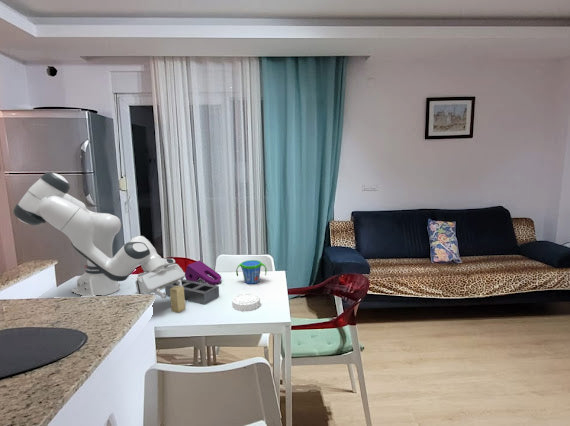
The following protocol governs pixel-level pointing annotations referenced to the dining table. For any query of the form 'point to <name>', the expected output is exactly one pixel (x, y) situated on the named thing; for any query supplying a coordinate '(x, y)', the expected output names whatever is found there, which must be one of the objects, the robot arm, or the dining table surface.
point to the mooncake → (246, 302)
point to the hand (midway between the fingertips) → (173, 293)
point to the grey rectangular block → (197, 291)
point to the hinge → (139, 288)
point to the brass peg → (177, 299)
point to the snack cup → (251, 271)
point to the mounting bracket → (202, 273)
